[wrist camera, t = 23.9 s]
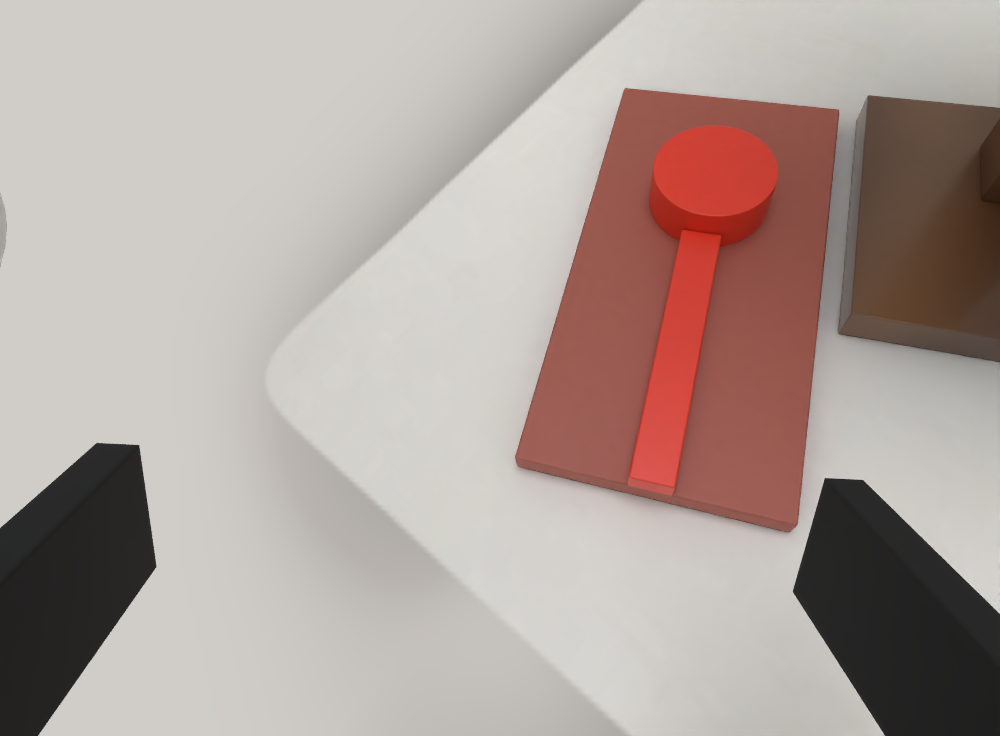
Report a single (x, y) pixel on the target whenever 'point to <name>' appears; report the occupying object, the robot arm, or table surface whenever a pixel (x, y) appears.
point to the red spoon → (694, 273)
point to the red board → (728, 329)
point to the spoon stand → (925, 227)
